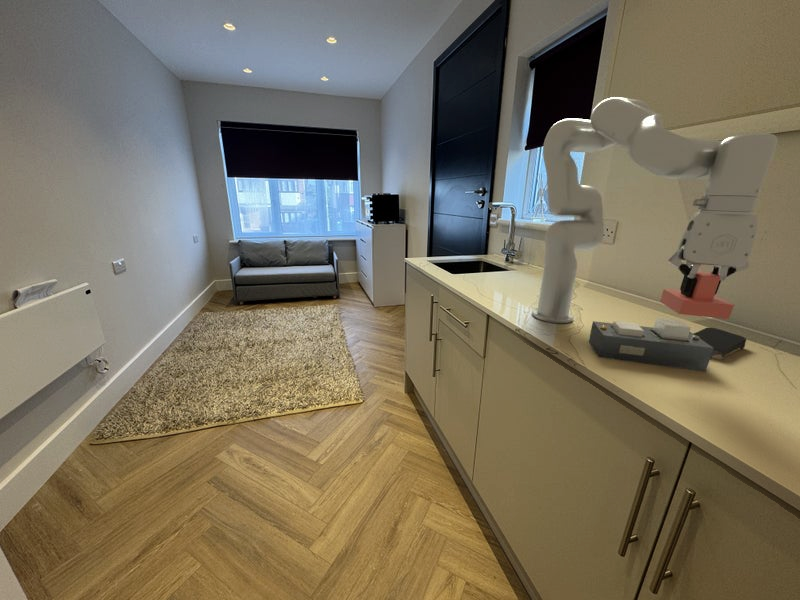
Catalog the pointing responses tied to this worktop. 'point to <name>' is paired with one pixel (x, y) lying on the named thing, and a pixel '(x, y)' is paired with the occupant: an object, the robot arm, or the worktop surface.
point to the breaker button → (627, 329)
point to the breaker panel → (653, 345)
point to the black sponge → (721, 341)
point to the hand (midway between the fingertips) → (696, 295)
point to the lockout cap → (699, 299)
